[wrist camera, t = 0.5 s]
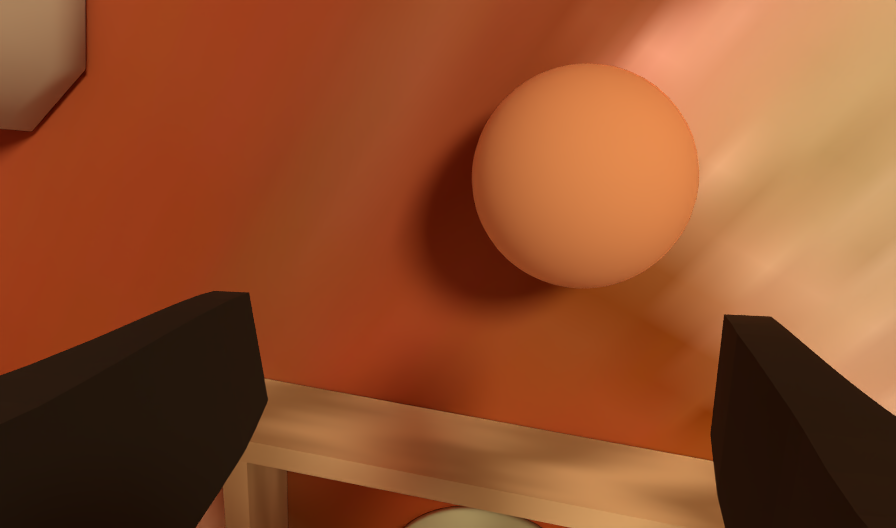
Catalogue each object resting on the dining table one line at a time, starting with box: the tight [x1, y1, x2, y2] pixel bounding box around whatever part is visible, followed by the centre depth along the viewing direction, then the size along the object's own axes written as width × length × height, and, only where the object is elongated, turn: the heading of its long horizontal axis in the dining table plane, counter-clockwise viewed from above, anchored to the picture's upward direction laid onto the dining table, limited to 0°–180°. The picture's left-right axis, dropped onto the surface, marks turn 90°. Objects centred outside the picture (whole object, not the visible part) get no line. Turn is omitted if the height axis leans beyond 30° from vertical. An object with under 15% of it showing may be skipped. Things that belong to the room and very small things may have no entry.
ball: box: [472, 63, 699, 288], centre depth 17 cm, size 5×5×5 cm
